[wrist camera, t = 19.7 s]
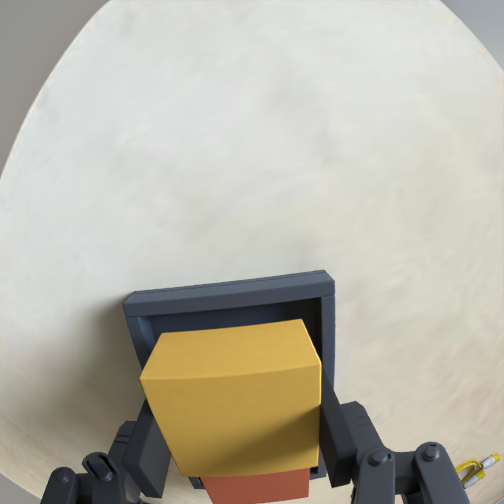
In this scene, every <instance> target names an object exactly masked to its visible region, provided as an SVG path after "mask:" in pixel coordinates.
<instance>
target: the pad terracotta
mask: <svg viewBox="0 0 504 504" xmlns="http://www.w3.org/2000/svg"><path fill="white" fill-rule="evenodd" d="M309 474H310V468H305V469H299V470H293V471H286V472H278V473H269V474H259V475H247V476H227V477H200V479H201V481H202V483H203V485H204V487H205V489H206V491H207V493H208V495H209V497H210V499H211V501H212V502H213V504H256V503H268V502H277V501H285V500H292V499H298V498H304V497H308V495H309Z"/></svg>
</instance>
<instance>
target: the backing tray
mask: <svg viewBox="0 0 504 504" xmlns="http://www.w3.org/2000/svg"><path fill="white" fill-rule="evenodd" d="M334 294H335V281H334V280H333V278H332V277H331V276H330V275H329V274H328V273H327V272H326V271H325V270H319V271H311V272H304V273H296V274H288V275H281V276H273V277H264V278H256V279H248V280H239V281H230V282H222V283H213V284H203V285H194V286H185V287H175V288H165V289H154V290H144V291H134V292H133V293H132V295H130V296H129V298H128V299H127V300H126V301H125V302H124V303H123V309H124V312H125V316H126V320H127V324H128V327H129V331H130V334H131V337H132V341H133V344H134V347H135V350H136V353H137V356H138V360H139V363H140V365H141V368H142V371H143V369H144V367H145V365H146V363H147V361H148V359H149V357H150V355H151V353H152V351H153V349H154V347H155V345H156V343H157V341H158V339H159V337H160V335H161V334H162V333H171V332H185V331H198V330H210V329H221V328H231V327H241V326H250V325H259V324H267V323H275V322H282V321H290V320H297V319H302V321H303V323H304V325H305V328H306V330H307V332H308V334H309V337H310V339H311V341H312V344H313V346H314V348H315V350H316V353H317V355H318V356H319V358H320V360H321V362H322V365H323V367H324V369H325V372H326V374H327V376H328V378H329V381H330V383H331V385H332V388H333V390H334V369H335V295H334ZM326 474H327V469H326V466H325V462H324V459H323V455H322V452H321V449H320V445H319V454H318V466H316V467H311V468H310V474H309V480H312V479H317V478H322V477H326ZM188 478H189V480H190V482H191V483H192V485H193V487H194V489H205V487H204V485H203V483H202V481H201V479H200V477H188Z"/></svg>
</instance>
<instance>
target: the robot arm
mask: <svg viewBox="0 0 504 504" xmlns="http://www.w3.org/2000/svg"><path fill="white" fill-rule="evenodd" d="M318 357H319V356H318ZM319 359H320V358H319ZM320 362H321V360H320ZM319 445H320V449H321V452H322V455H323V459H324V462H325V466H326V469H327V473H328V476H329V480H330V483H331V487H332V488H334V487H339V486H343V485H347V484H350V481H351V479H352V482H353V484H354V488H353V491H352V494H351V498H352V499H351V504H394V503H395V495H398V494H401V497H402V500H403V504H470V501H469V499H468V497H467V494H466V492H465V490H464V488H463V486H462V483H461V481H460V479H459V477H458V475H457V473H456V470H455V468H454V466H453V464H452V462H451V460H450V458H449V456H448V454H447V452H446V450H445V448H444V447H443V446H442V445H441V444H439V443H437V442H426V443H424V444H422V445H420V446H419V447H418V448H417V449H416V451H411V452H394V451H391V450H390V449H388V448H386V447H385V446H384V445H383V443H382V441H381V439H380V437H379V435H378V433H377V431H376V429H375V428H374V426H373V424H372V422H371V420H370V418H369V416H368V414H367V412H366V410H365V408H364V407H363V406H362V405H361V404H359V403H358V402H357V401H354V402H350V403H346V404H341V405H340V404H339V401H338V399H337V397H336V394H335V392H334V390H333V388H332V385H331V383H330V381H329V378H328V376H327V374H326V372H325V369H324V367H323V365H322V362H321V403H320V430H319ZM170 458H171V452H170V450H169V448H168V446H167V444H166V442H165V440H164V438H163V436H162V433H161V431H160V429H159V427H158V424H157V422H156V420H155V417H154V416H153V413H152V411H151V408H150V406H149V403H148V401H147V398H146V399H145V401H144V404H143V406H142V409H141V411H140V414H139V416H138V419H137V421H126V422H125V423H124V424H122V425H121V426H120V428H119V430H118V432H117V436H116V437H115V439H114V442H113V444H112V446H111V448H110V451H109V453H108V455H107V454H105V453H102V452H94V453H91V454H89V455H87V456H86V457H85V458H84V459H83V462H82V465H83V467H84V468H85V469H86V471H87V472H88V473H82V474H75V472H74V471H73V470H72V469H70V468H68V467H60V468H57V469H56V470H54V471H53V472H52V474H51V476H50V478H49V481H48V484H47V486H46V489H45V492H44V494H43V497H42V500H41V503H40V504H143V503H142V501H141V499H140V498H139V496H140V492H141V491H142V493H143V494H144V495H145V496H146V497H153V498H162V495H163V491H164V486H165V481H166V476H167V472H168V467H169V462H170Z"/></svg>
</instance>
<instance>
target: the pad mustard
mask: <svg viewBox="0 0 504 504" xmlns="http://www.w3.org/2000/svg"><path fill="white" fill-rule="evenodd" d="M139 380H140V383H141V386H142V388H143V391H144V393H145V396H146V398H147V401H148V403H149V406H150V408H151V411H152V413H153V416H154V417H155V420H156V422H157V424H158V427H159V429H160V431H161V433H162V436H163V438H164V440H165V442H166V444H167V446H168V448H169V450H170V452H171V455H172V457H173V459H174V461H175V463H176V465H177V467H178V469H179V470H180V472H181V474H182V476H187V477H227V476H247V475H259V474H269V473H278V472H286V471H293V470H299V469H305V468H311V467H316V466H318V454H319V430H320V403H321V362H320V359H319V357H318V355H317V353H316V350H315V348H314V346H313V344H312V341H311V339H310V337H309V334H308V332H307V330H306V328H305V325H304V323H303V321H302V319H297V320H290V321H282V322H275V323H267V324H259V325H250V326H241V327H231V328H221V329H210V330H198V331H185V332H171V333H162V334H161V335H160V337H159V339H158V341H157V343H156V345H155V347H154V349H153V351H152V353H151V355H150V357H149V359H148V361H147V363H146V365H145V367H144V369H143V371H142V373H141V375H140V377H139Z"/></svg>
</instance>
